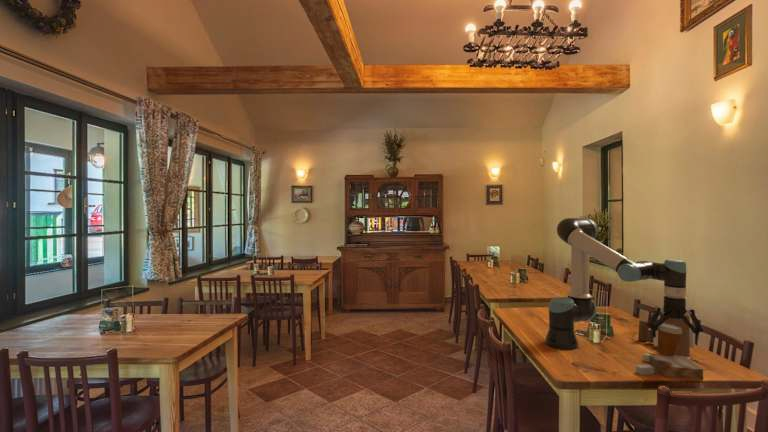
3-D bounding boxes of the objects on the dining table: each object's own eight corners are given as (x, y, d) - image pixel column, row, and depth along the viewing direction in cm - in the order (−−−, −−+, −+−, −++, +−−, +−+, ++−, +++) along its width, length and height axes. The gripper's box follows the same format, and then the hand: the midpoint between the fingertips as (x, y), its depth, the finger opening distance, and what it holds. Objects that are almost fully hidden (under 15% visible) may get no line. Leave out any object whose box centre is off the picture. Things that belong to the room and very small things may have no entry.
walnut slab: (663, 376, 163) (663, 366, 163) (649, 363, 177) (649, 354, 177) (703, 379, 160) (703, 369, 160) (685, 366, 173) (685, 357, 173)
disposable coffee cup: (682, 359, 164) (686, 331, 163) (655, 354, 167) (659, 326, 166) (673, 352, 172) (678, 325, 172) (648, 347, 176) (652, 320, 175)
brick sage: (643, 361, 181) (643, 354, 181) (645, 359, 182) (645, 353, 182) (658, 365, 176) (658, 358, 176) (660, 363, 178) (660, 356, 178)
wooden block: (690, 359, 182) (689, 315, 182) (663, 355, 187) (663, 312, 187) (687, 352, 191) (687, 311, 191) (662, 349, 196) (661, 308, 196)
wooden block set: (667, 348, 197) (669, 327, 197) (648, 346, 198) (650, 325, 199) (649, 338, 215) (651, 319, 215) (632, 336, 216) (633, 317, 216)
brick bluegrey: (641, 375, 165) (641, 368, 165) (635, 372, 167) (635, 365, 167) (654, 374, 165) (654, 367, 165) (648, 371, 168) (648, 364, 168)
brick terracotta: (672, 362, 178) (672, 356, 178) (673, 361, 180) (673, 354, 180) (689, 366, 174) (689, 359, 174) (689, 364, 177) (689, 357, 177)
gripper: (645, 296, 168) (644, 346, 168) (714, 300, 162) (713, 352, 162) (638, 292, 175) (637, 340, 175) (704, 296, 169) (703, 345, 169)
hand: (673, 346), depth 169 cm, fingers open, 13 cm apart
